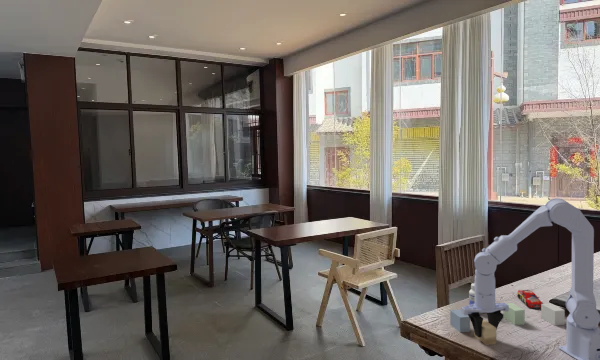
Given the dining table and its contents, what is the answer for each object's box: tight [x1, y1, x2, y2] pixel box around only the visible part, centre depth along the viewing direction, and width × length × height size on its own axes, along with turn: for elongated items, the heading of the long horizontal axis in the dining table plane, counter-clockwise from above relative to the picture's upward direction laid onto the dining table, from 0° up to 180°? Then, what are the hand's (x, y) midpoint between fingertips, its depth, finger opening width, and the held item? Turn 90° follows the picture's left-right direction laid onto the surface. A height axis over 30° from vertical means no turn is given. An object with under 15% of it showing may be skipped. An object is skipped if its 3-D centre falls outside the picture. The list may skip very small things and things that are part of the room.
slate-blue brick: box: [449, 308, 471, 333], centre depth 129 cm, size 6×4×5 cm, turn 8°
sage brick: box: [502, 302, 526, 326], centre depth 133 cm, size 6×4×5 cm, turn 8°
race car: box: [517, 289, 544, 309], centre depth 148 cm, size 13×5×4 cm, turn 169°
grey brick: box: [540, 302, 566, 327], centre depth 132 cm, size 6×4×5 cm, turn 8°
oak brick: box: [473, 319, 497, 346], centre depth 121 cm, size 6×4×5 cm, turn 8°
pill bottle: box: [468, 282, 483, 315], centre depth 142 cm, size 5×5×10 cm
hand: (484, 335), depth 121 cm, fingers open, 4 cm apart
